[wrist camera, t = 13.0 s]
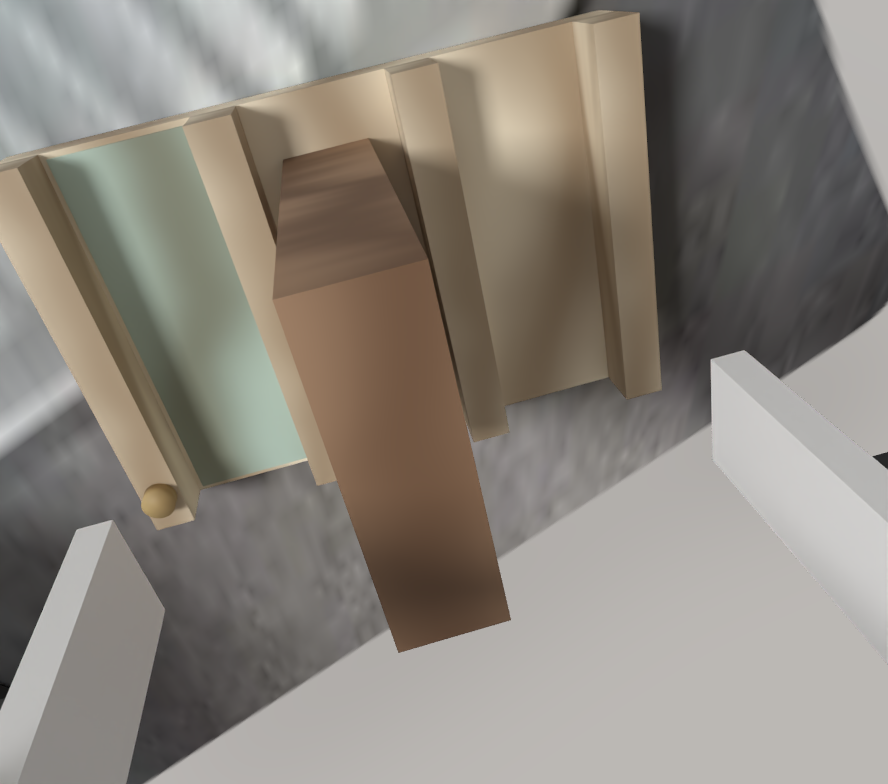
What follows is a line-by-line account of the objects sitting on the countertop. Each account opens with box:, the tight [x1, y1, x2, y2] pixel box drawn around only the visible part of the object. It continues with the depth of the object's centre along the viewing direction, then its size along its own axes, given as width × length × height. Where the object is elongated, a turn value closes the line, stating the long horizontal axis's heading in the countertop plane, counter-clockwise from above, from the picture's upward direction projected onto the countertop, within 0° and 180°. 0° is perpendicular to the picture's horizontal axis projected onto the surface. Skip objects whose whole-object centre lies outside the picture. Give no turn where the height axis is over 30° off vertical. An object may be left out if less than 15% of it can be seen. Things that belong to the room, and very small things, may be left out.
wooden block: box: [272, 138, 511, 653], centre depth 22 cm, size 3×10×13 cm, turn 12°
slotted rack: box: [0, 10, 662, 530], centre depth 27 cm, size 21×14×4 cm, turn 102°
